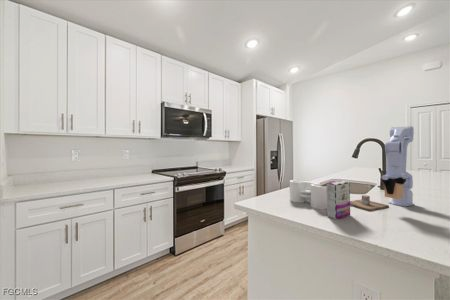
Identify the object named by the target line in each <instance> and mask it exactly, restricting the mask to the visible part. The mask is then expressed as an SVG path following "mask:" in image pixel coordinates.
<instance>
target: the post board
mask: <svg viewBox="0 0 450 300" xmlns="http://www.w3.org/2000/svg"><path fill="white" fill-rule="evenodd" d="M370 198H371V197H370V195H366V194H364V195H363V194H362V195H361V199H355V200H350V207H353V208H356V209H361V210H362V211H363V210H364V211H367V212H372V211H377V210H382V209H388V208H389V207H390V205H389V204H384V203H381V202H376V201H372V200H370Z"/></svg>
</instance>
